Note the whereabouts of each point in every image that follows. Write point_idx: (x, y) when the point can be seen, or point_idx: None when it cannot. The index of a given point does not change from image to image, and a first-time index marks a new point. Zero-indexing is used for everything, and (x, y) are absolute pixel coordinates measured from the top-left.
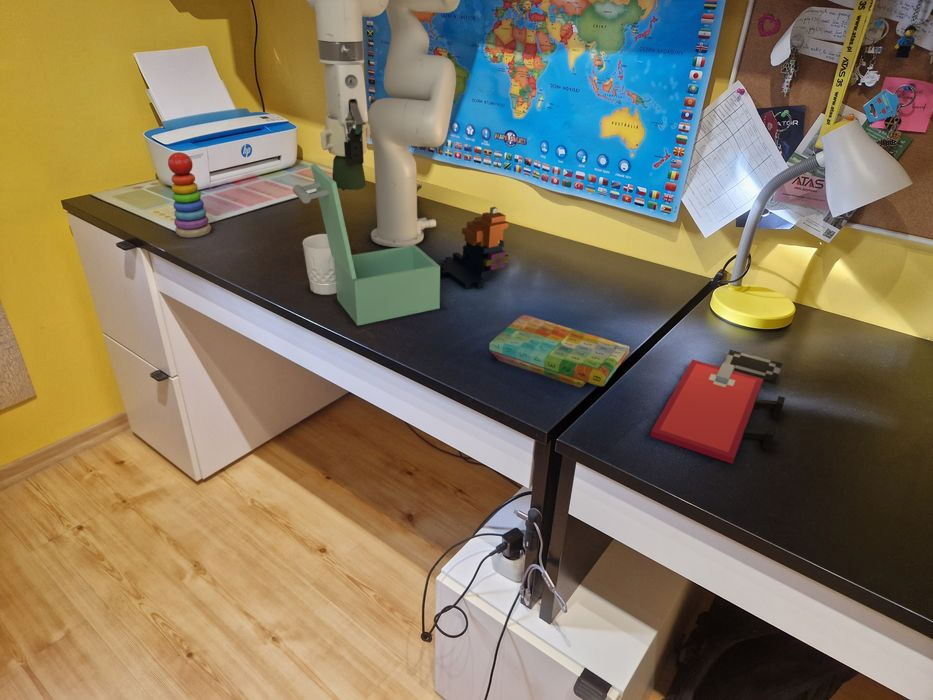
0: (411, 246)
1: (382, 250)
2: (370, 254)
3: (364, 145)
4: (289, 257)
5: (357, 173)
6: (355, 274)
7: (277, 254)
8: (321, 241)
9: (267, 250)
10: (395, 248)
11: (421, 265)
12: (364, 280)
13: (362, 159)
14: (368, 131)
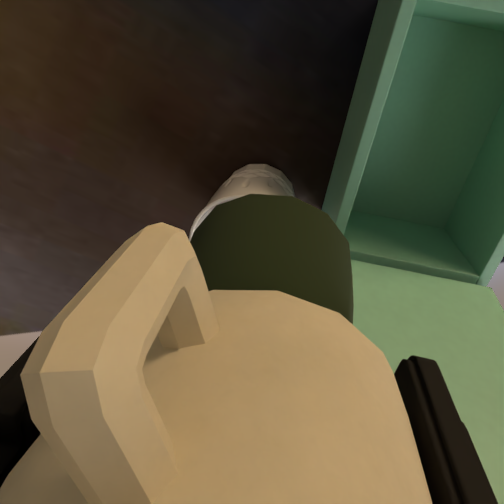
0: (414, 2)
1: (372, 119)
2: (365, 162)
3: (400, 405)
4: (70, 189)
5: (351, 311)
6: (495, 295)
7: (45, 202)
8: (200, 223)
9: (17, 209)
10: (387, 70)
11: (480, 16)
12: (497, 265)
13: (441, 384)
14: (159, 307)
